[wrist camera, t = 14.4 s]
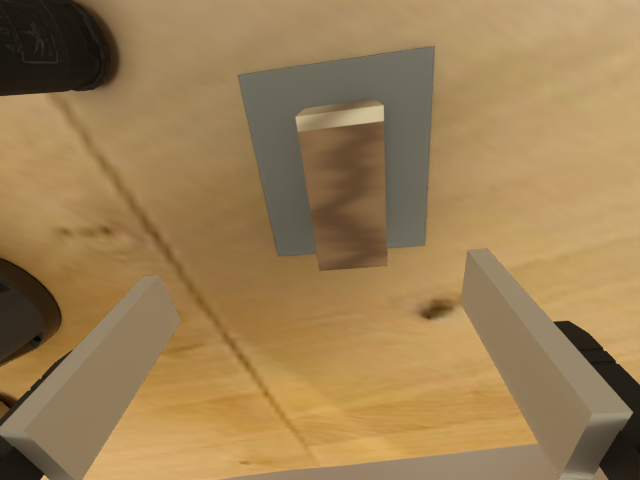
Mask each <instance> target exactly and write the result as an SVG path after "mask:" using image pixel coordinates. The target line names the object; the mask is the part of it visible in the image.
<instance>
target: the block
mask: <svg viewBox="0 0 640 480" xmlns="http://www.w3.org/2000/svg"><path fill="white" fill-rule="evenodd" d="M295 118H296V124H297V131H298V135H299V141H300V148H301V154H302V161H303V167H304V174H305V180H306V187H307V193H308V199H309V206H310V212H311V219H312V225H313V232H314V238H315V245H316V251H317V257H318V264H319V270H320V271H322V270H337V269H351V268H365V267H379V266H387V236H386V195H385V155H384V105H383V104H381V103H380V102H379V101H377V100H376V99H369V100H362V101H354V102H347V103H339V104H332V105H325V106H317V107H310V108H304V109H303V110H302V111H301V112H300V113H299V114H298V115H297V116H296V117H295Z"/></svg>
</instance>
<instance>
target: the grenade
mask: <svg viewBox="0 0 640 480" xmlns="http://www.w3.org/2000/svg"><path fill="white" fill-rule="evenodd" d="M109 66H110V56H109V48H108V45H107V42H106V40H105V37H104V35H103V32H102V30H101V29H100V27H99V26H98V24H97V23H96V21H95V20H94V18H93V17H92V16H91V15H90V14H89V13H88V12H87V11H86V10H85V9H84V8H83V7H82V6H81V5H79V4H78V3H76V2H74V1H72V0H0V96H8V95H22V94H36V93H51V92H65V91H69V90H74V91H86V90H93V89H95V88H97V87H98V86H100V85H101V84H103V82H104V80H105V79H106V77H107V75H108V72H109Z"/></svg>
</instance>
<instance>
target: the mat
mask: <svg viewBox="0 0 640 480" xmlns="http://www.w3.org/2000/svg"><path fill="white" fill-rule="evenodd" d="M434 50H435V46H433V47H426V48H420V49H413V50H406V51H399V52H392V53H385V54H378V55H372V56H365V57H358V58H351V59H344V60H337V61H330V62H324V63H317V64H310V65H303V66H296V67H289V68H282V69H275V70H269V71H262V72H255V73H248V74H241V75H238V79H239V83H240V88H241V92H242V97H243V101H244V106H245V110H246V115H247V119H248V124H249V128H250V133H251V137H252V141H253V146H254V150H255V155H256V159H257V164H258V168H259V173H260V177H261V182H262V186H263V191H264V195H265V200H266V204H267V209H268V213H269V218H270V222H271V227H272V231H273V236H274V240H275V245H276V249H277V254H278V256H291V255H305V254H317V251H316V245H315V238H314V232H313V225H312V219H311V212H310V206H309V199H308V193H307V187H306V180H305V174H304V167H303V161H302V154H301V148H300V141H299V135H298V131H297V124H296V118H295V117H296V116H297V115H298V114H299V113H300V112H301V111H302V110H303V109H304V108H310V107H317V106H325V105H332V104H339V103H347V102H354V101H362V100H369V99H376V100H377V101H379V102H380V103H381V104H383V105H384V155H385V195H386V236H387V248H401V247H414V246H425V230H426V210H427V190H428V170H429V150H430V130H431V110H432V90H433V70H434Z"/></svg>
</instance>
